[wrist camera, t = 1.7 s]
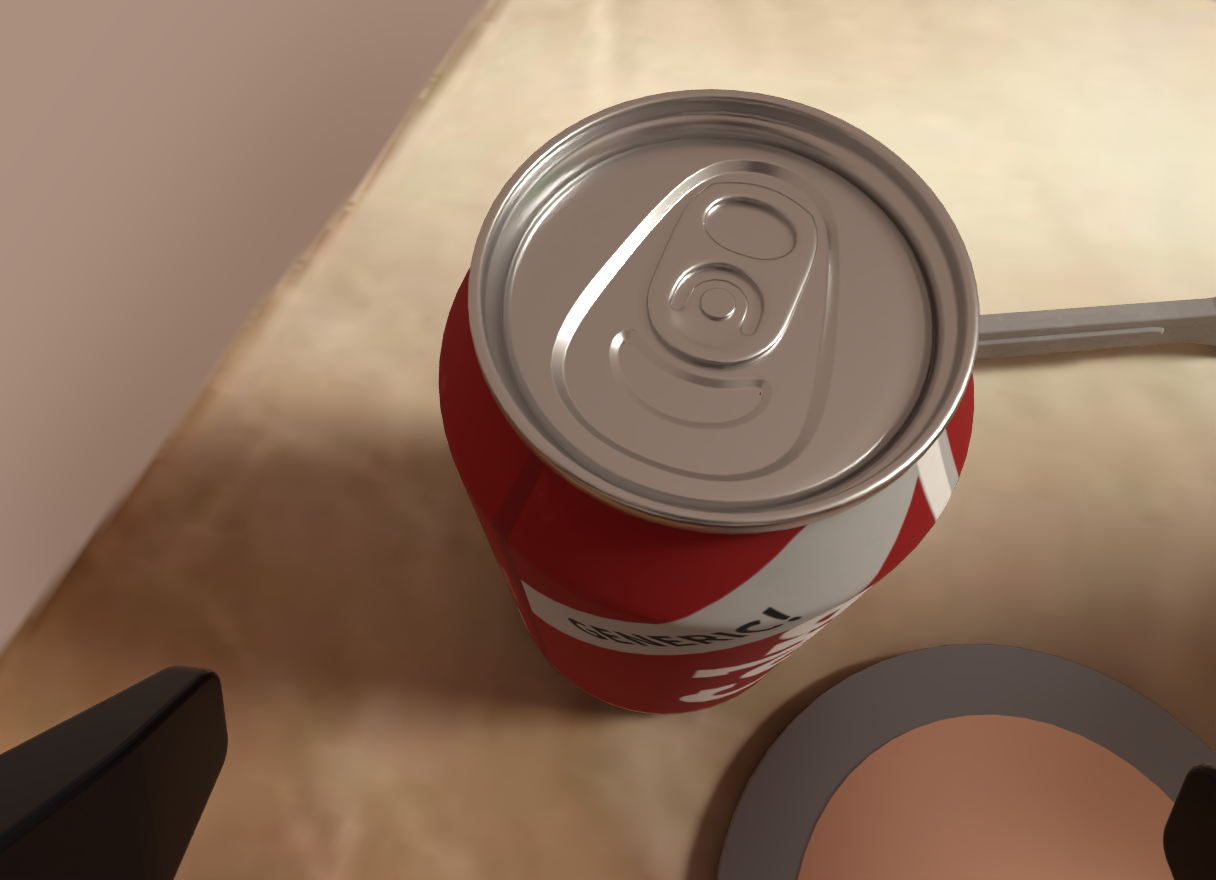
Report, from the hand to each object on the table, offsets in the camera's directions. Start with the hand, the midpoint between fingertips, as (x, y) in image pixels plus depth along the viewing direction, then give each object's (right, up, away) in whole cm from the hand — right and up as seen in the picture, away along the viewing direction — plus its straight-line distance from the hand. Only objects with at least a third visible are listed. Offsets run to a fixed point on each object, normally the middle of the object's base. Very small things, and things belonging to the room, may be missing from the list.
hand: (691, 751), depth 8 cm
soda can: (0, 0, +12) cm, 13 cm away
